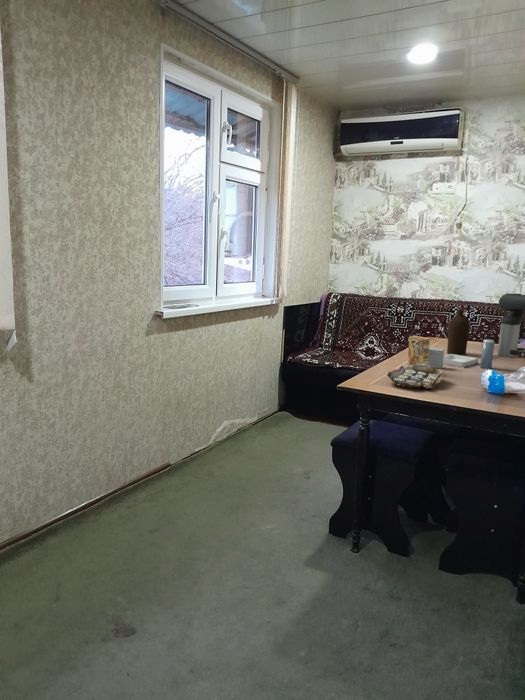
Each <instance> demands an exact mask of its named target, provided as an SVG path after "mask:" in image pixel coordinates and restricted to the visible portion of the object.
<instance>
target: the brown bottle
mask: <svg viewBox="0 0 525 700" xmlns="http://www.w3.org/2000/svg"><path fill="white" fill-rule="evenodd" d="M464 309H465V308H464V307H460V306H459V307H457V310H456V315H454V316H453V317H452V318H451V319H450V320H449V322H448V326H447V327H448V328H447V331H448V332H447V347H446V351H447V355H449V354H455V355H461V356H466V353H467V347H468V339H469V333H470V328H471V327H470V325H471V324H470V321H469V320H468V319H467V318H466V316H465V315H464V312H465V310H464Z"/></svg>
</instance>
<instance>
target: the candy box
mask: <svg viewBox="0 0 525 700" xmlns="http://www.w3.org/2000/svg"><path fill="white" fill-rule="evenodd" d="M408 338H409V339H408V348H407V349H408V352H407V362H406V363H407V364H406V366H409V365H411V364H425V365H428V355H429V348H430V343H431V342H430V341H431V338H429V337H424V336H418V335H410V336H408Z"/></svg>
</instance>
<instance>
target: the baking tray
mask: <svg viewBox="0 0 525 700" xmlns="http://www.w3.org/2000/svg"><path fill="white" fill-rule="evenodd" d="M446 373H447V371H446V370H444V371H439V370H438V368H435V367H433V366H431V365H425V364H411V365H409V366H407V365H401V366H400V367H399V368H398V369H393V370H389V371H388V372H387V374H386V376H387V377H388V378H389V379H390V380H391V382H392V384H393V383H394V385H395V384H396V385H397V384H399V385H404V386H403V387H405V386H410V387H409V388H412V387H417V388H416V389H419V388H420V389H421V388H422V387H423V388H425V390H426V389H428V390H429V388H430V389H433V388H435V387H436V386H437V384H439V383H440V382H441V381H442V379H443V378H444V375H445V374H446ZM426 377H427V378H426ZM423 378H426V379H424V380H423ZM408 379H410V380H408ZM422 380H423V381H422ZM420 381H421V382H420Z"/></svg>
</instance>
